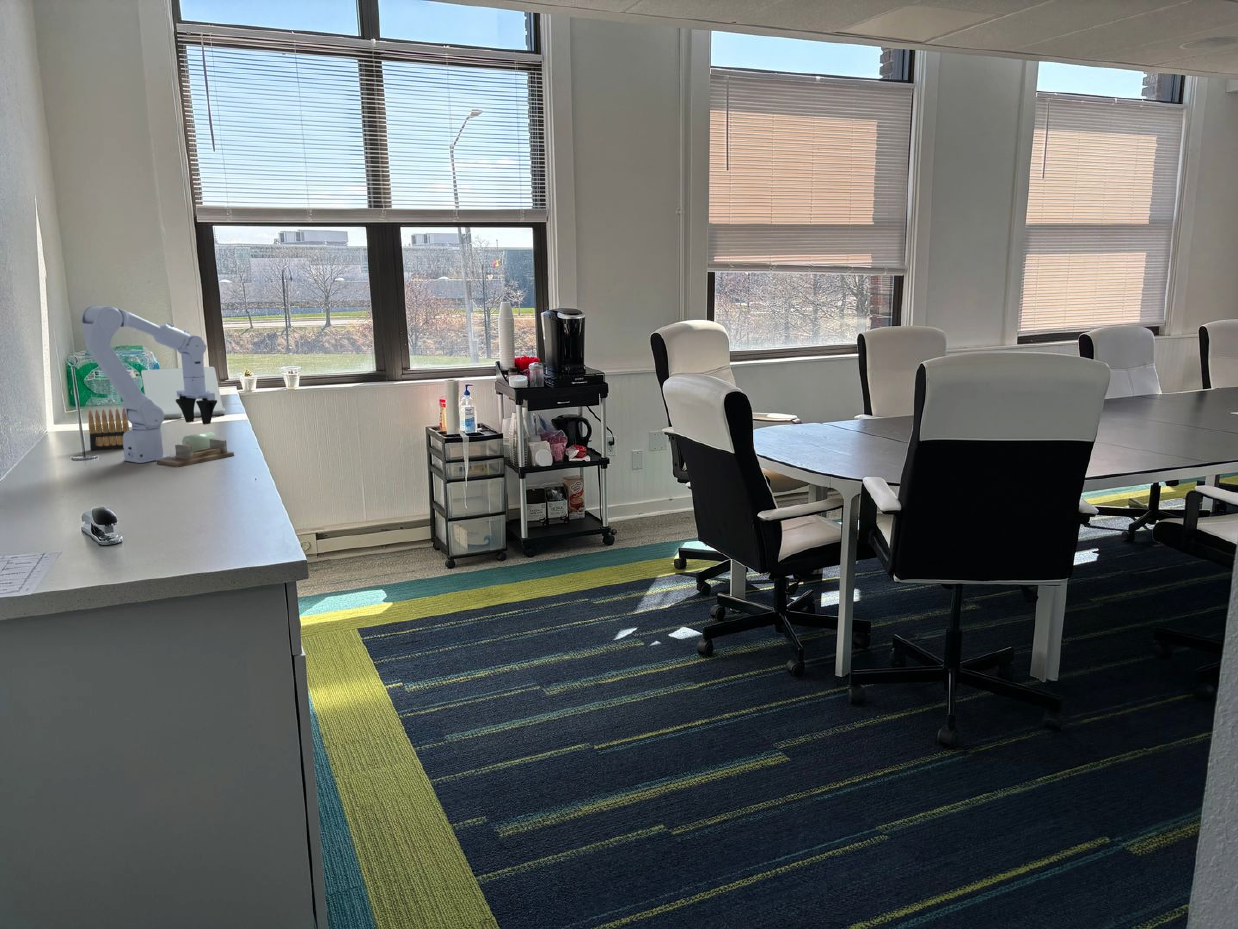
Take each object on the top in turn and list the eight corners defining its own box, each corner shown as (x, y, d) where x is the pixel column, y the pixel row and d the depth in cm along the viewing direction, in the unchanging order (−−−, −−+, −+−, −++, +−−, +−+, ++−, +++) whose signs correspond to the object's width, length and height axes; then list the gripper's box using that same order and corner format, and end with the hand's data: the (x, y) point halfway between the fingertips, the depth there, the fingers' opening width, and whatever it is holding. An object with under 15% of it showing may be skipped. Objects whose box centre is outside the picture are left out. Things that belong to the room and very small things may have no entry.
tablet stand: (144, 415, 339) (139, 369, 336) (216, 410, 353) (213, 365, 349) (151, 421, 324) (146, 373, 321) (226, 416, 338) (222, 370, 334)
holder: (177, 466, 248) (176, 450, 247) (156, 463, 252) (155, 447, 251) (234, 455, 263) (232, 440, 262) (213, 452, 267) (211, 437, 267)
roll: (194, 454, 265) (192, 436, 264) (183, 452, 268) (181, 435, 267) (218, 449, 272) (216, 432, 271) (207, 448, 275) (205, 431, 274)
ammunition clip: (90, 450, 270) (85, 410, 268) (91, 449, 272) (86, 409, 269) (131, 448, 274) (127, 408, 272) (131, 447, 276) (127, 407, 274)
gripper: (222, 376, 266) (226, 423, 268) (190, 374, 273) (194, 419, 275) (201, 379, 260) (205, 426, 262) (168, 376, 266) (173, 422, 269)
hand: (198, 423), depth 268 cm, fingers open, 7 cm apart
